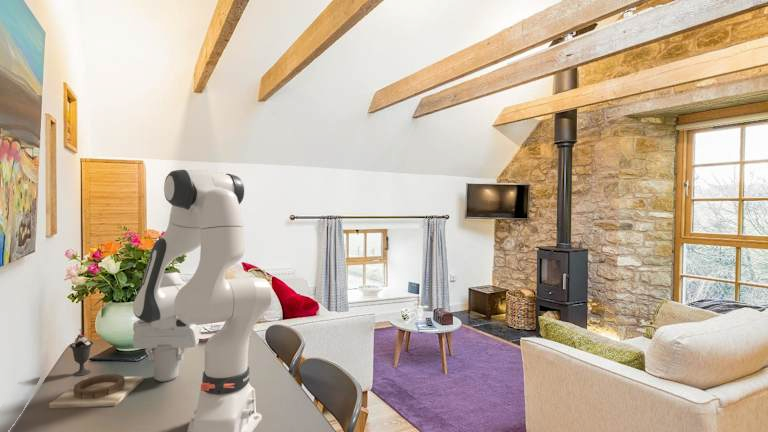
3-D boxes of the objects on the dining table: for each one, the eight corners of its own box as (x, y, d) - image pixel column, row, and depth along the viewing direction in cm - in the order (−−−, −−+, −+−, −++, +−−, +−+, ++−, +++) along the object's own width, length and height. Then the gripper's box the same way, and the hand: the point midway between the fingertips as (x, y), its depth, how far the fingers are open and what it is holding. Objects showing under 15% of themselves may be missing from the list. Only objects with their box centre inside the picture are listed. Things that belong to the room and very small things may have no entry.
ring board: (115, 405, 127) (115, 395, 127) (49, 408, 125) (49, 397, 125) (143, 379, 145) (143, 370, 144) (85, 381, 143) (85, 371, 143)
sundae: (82, 368, 153) (81, 326, 152) (98, 370, 152) (97, 327, 151) (64, 376, 147) (64, 332, 146) (81, 378, 145) (80, 333, 145)
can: (148, 380, 144) (148, 344, 144) (167, 372, 151) (167, 338, 151) (165, 384, 142) (165, 348, 141) (183, 375, 148) (183, 341, 148)
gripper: (128, 322, 141) (129, 364, 142) (194, 321, 143) (194, 363, 144) (137, 317, 148) (138, 357, 148) (200, 316, 150) (200, 356, 150)
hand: (166, 360), depth 146 cm, fingers closed on can, 7 cm apart
